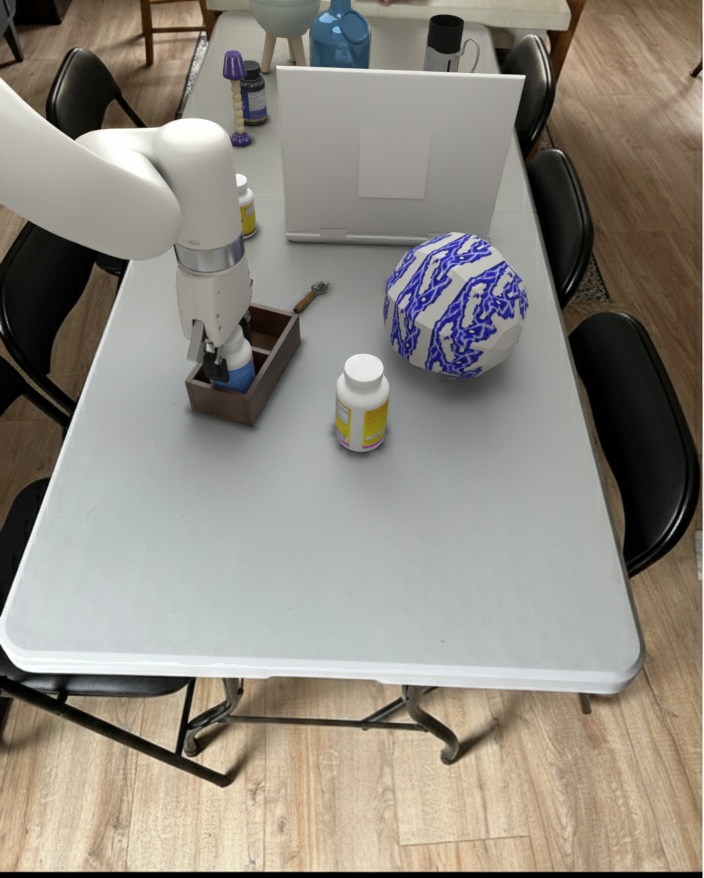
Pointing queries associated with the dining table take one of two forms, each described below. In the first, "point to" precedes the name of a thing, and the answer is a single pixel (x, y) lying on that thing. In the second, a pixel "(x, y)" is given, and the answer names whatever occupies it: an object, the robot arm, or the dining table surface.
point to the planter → (284, 25)
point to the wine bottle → (340, 38)
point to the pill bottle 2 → (253, 95)
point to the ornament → (454, 306)
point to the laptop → (392, 152)
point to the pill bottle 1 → (236, 362)
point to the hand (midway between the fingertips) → (229, 360)
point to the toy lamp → (236, 93)
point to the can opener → (310, 296)
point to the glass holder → (445, 44)
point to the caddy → (271, 356)
